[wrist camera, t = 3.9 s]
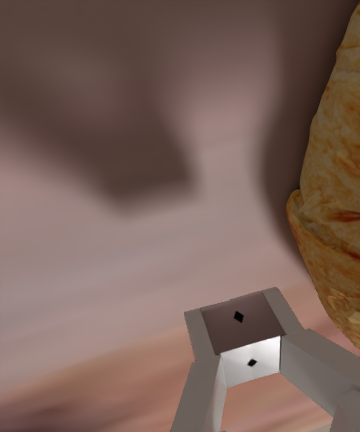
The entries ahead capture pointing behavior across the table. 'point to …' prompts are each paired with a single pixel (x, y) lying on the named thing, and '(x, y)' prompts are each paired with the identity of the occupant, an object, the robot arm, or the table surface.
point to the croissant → (334, 191)
